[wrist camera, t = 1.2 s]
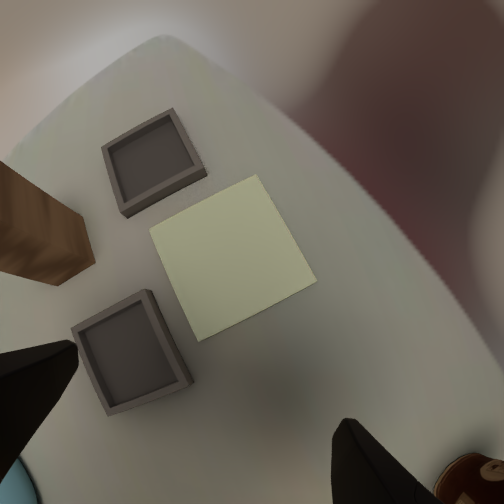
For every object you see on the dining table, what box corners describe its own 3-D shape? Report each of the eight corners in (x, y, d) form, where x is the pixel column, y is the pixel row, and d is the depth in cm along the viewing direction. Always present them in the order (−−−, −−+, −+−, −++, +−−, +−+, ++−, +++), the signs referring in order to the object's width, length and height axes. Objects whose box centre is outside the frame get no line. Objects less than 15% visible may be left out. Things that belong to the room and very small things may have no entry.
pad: (199, 341, 22) (198, 341, 22) (150, 230, 25) (148, 229, 24) (316, 282, 23) (317, 280, 22) (256, 177, 25) (256, 174, 25)
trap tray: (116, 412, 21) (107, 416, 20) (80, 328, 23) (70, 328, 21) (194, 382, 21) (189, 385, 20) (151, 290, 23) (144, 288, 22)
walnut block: (57, 286, 24) (-39, 258, 12) (47, 241, 25) (-39, 199, 13) (95, 262, 24) (-1, 220, 13) (82, 216, 25) (-1, 159, 14)
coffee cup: (461, 431, 19) (553, 471, 6) (501, 447, 17) (580, 478, 4) (408, 505, 17) (469, 576, 4) (456, 513, 16) (516, 565, 3)
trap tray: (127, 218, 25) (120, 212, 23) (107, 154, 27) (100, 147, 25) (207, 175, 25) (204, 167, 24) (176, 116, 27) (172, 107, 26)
